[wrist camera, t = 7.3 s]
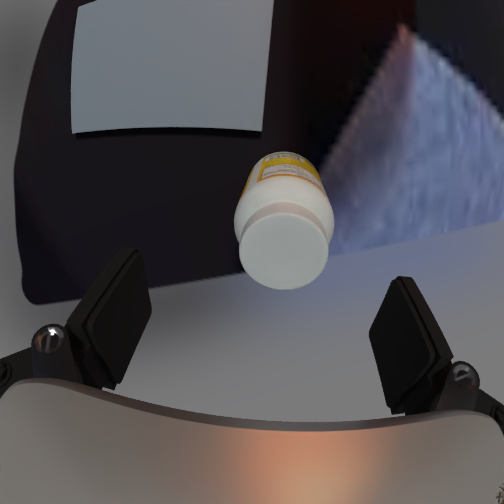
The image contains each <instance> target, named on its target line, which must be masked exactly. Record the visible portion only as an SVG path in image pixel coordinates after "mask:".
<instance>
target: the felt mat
mask: <svg viewBox="0 0 504 504" xmlns="http://www.w3.org/2000/svg"><path fill="white" fill-rule="evenodd" d="M273 5H274V0H97V1H94V2H91V3H89V4H86V5H83V6H80V7H79V8H78V14H77V21H76V28H75V36H74V45H73V57H72V75H71V120H72V133H79V132H88V131H98V130H109V129H124V128H144V127H206V128H227V129H242V130H254V131H262V123H263V112H264V102H265V91H266V80H267V69H268V58H269V48H270V37H271V26H272V15H273Z"/></svg>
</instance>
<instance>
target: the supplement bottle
mask: <svg viewBox="0 0 504 504" xmlns="http://www.w3.org/2000/svg"><path fill="white" fill-rule="evenodd" d="M234 228H235V234H236V237H237V240H238V242H239V244H240V245H239V256H240V261H241V263H242V266H243V268H244V269H245V271H246V272H247V274H248V275H249V276H250V277H251V278H253V279H254V280H255V281H256V282H258V283H259V284H261V285H264V286H266V287H269V288H272V289H276V290H291V289H297V288H300V287H303V286H305V285H307V284H309V283H310V282H312V281H313V280H315V279H316V278H317V277H318V276H319V275H320V274H321V272H322V271H323V269H324V267H325V265H326V263H327V259H328V245H329V243H330V241H331V239H332V235H333V231H334V215H333V211H332V207H331V205H330V202H329V199H328V197H327V194H326V192H325V189H324V187H323V185H322V182H321V179H320V176H319V174H318V172H317V171H316V169H315V167H314V166H313V165H312V164H311V163H310V162H309V161H308V160H307V159H305V158H304V157H302V156H300V155H298V154H295V153H291V152H277V153H273V154H270V155H268V156H266V157H264V158H262V159H261V160H260V161H259V162H258V163H257V164H256V165H255V166H254V168H253V169H252V171H251V173H250V176H249V178H248V181H247V183H246V186H245V188H244V191H243V193H242V196H241V198H240V200H239V203H238V205H237V208H236V212H235V217H234Z"/></svg>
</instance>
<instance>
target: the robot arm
mask: <svg viewBox="0 0 504 504" xmlns="http://www.w3.org/2000/svg"><path fill="white" fill-rule="evenodd" d="M151 311H152V308H151V302H150V297H149V292H148V286H147V280H146V274H145V268H144V262H143V256H142V254H141V253H139V252H138V250H137V249H132V248H121V249H120V251H119V252H118V253H117V254H116V256H115V257H114V258H113V259H112V260H111V262H110V263H109V264H108V265H107V267H106V268H105V269H104V271H103V272H102V273H101V274H100V276H99V277H98V278H97V280H96V281H95V282H94V284H93V285H92V286H91V288H90V289H89V290H88V292H87V293H86V294H85V296H84V297H83V298H82V300H81V301H80V303H79V304H78V305H77V307H76V308H75V310H74V311H73V312H72V314H71V315H70V317H69V318H68V320H67V323H66V325H65V326H64V327H63V326H61V325H59V324H48V325H45V326H43V327H41V328H40V329H39V330H37V332H36V333H35V334H34V336H33V338H32V341H31V347H30V348H27V349H25V350H22V351H19V352H17V353H14V354H12V355H9V356H7V357H4V358H2V359H0V504H504V405H503V404H501V403H500V402H498V401H497V400H495V399H494V398H492V397H491V396H489V395H488V394H487V393H485V392H484V391H482V390H481V389H479V386H480V379H479V375H478V373H477V372H476V370H475V369H474V368H473V367H472V366H471V365H470V364H468V363H466V362H464V361H457V362H455V363H453V364H452V362H451V359H452V358H453V357H454V356H453V354H452V352H451V350H450V348H449V346H448V343H447V341H446V339H445V337H444V335H443V333H442V331H441V329H440V327H439V325H438V323H437V321H436V320H435V317H434V316H433V314H432V312H431V310H430V308H429V306H428V305H427V303H426V301H425V299H424V297H423V295H422V294H421V292H420V290H419V288H418V287H417V285H416V283H415V282H414V280H413V279H412V278H411V277H403V276H398V277H397V278H396V279H394V280H392V282H391V284H390V286H389V289H388V291H387V293H386V295H385V298H384V300H383V302H382V305H381V307H380V309H379V311H378V313H377V315H376V318H375V319H374V322H373V324H372V326H371V328H370V331H369V338H370V342H371V346H372V349H373V353H374V356H375V360H376V364H377V367H378V371H379V375H380V379H381V383H382V387H383V392H384V396H385V400H386V404H387V406H388V407H389V408H390V409H391V414H392V415H394V414H401V413H404V412H405V416H399V417H391V418H382V419H372V420H360V421H343V422H282V421H264V420H251V419H241V418H232V417H224V416H216V415H208V414H203V413H196V412H190V411H185V410H180V409H175V408H170V407H165V406H161V405H156V404H152V403H148V402H144V401H140V400H136V399H132V398H128V397H124V396H120V395H117V394H113V393H110V392H107V391H103V390H102V387H105V388H108V389H111V390H114V389H115V387H116V384H117V383H118V384H120V383H121V382H122V380H123V377H124V375H125V372H126V370H127V368H128V365H129V363H130V361H131V358H132V356H133V354H134V352H135V349H136V347H137V345H138V342H139V340H140V338H141V336H142V333H143V331H144V329H145V327H146V324H147V323H148V321H149V318H150V316H151Z"/></svg>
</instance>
